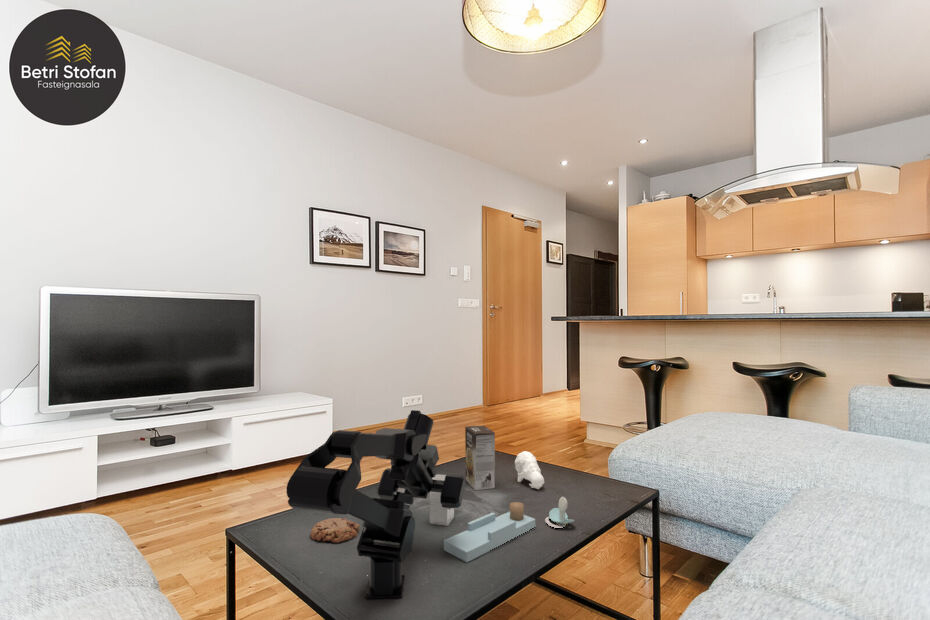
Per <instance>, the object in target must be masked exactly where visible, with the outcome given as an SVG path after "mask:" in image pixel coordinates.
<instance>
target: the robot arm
mask: <svg viewBox="0 0 930 620" xmlns="http://www.w3.org/2000/svg"><path fill="white" fill-rule="evenodd" d="M433 426H434V420H433V418H431V417H430V416H428V415H426V414H424V413H422V412H421V410H413V409H412V410H410V413H409V414H408V416H407V418H406V420H405V423H404V427H403V429H402V428H401V429H400V428H387V427H384V428H383V427H382V428H380V429H377V430H376V432H375V433H366V432H362V431H357V430H335V431H334V432H332V433H331V434H330V435H329V437H328V438H327V439H326V441H325V442H324V443H323V444H322V445H320V446H319V447H317V448H315V449H314V450H313V451H311V452H310V453H309V454H307V455H306V456H305V457H303V459H302V460H301V462H300V463H299V465H298V466H297V468H296V469H295V470H294V472H293V473H292V475H291V476H290V477H289V480H288V481H287V485H286V496H287V498H288V500H287V503H288V505H289V507H291V509H294V510H302V511H309V512H310V511H311V512H318V513H323V514H324V513H325V514H332V515H336V516H338V517H339V518H342V519H344V518H345V519H347V520H349V521H352V522H354V523H356V524H359V525H360V526H361V527H363V528H362V532H361V534H360V537H359V540H358V543H357V545H356V549H357V554H358V557H367V558H369V559H368V561H369V564H368V565H369V570H368V571H369V577H368V579H369V580H368V582H367V586H366V590H365V591H364V592H365V593H364V599H366V600H368V599H374V600H375V599H397V598H398V599H399V598H402V597H403V596H404V595H403V594H404V588H405V583H406V582H405V581H406V575H405V574H402V573H403V569H402V567H403V565H402V563H404V560H406V558H407V557H408V556H409V555H410V553H411V552H412V551H413V543H414V536H415V535H414V534H415V529H416V528H415V527H416V520H415V517H414V516H413V512H412V510H410V508H411V506H413V504H414V498H415V499H417V498H418V499H425V500H427V498H428V494H430V491H431V492H440V493H441V495H440V502H441V504H442V507H444V508H446V509H451V508H454V509H459V508H460V507H461V506H462V501H463V497H464V494H465V489H466V484H467V481H466V478H465V477H464V476H463V475H458V474H449V473H448V474H445V475H446V476H445V480H444V481H442V480H433V479H432V478H433V477H435V476H436V475H437V474H436V473H437V472H436V470H435V468H436V466H437V463H438V462H439V460H440V457H439V451H438V446H437V445H434V444H428V443H429V439H430V436H431V433H432V431H433V430H432V429H433ZM365 457H366V458H369V457H375V458H377V459H380V460H388V461H389V460H390V465H391V466H390V468H389V467H387V468H386V469H384V471H383V472H382V474H381V476H380V479H379V483H378V484H377V488H376V493H377V495H378V497H379V498H377V497H372V498H371V497H369V496H368V495H366V494H365V493H363V492H361V491H359V490H358V486H359V484H360V483H361V481H362V472H361V471H362V470H361V461H362V460H363V458H365ZM337 458H342V459H343V458H344V459H351V462H350V464H349V466H348V468H347V469H341V468H340V469H339V468H332V467H330V468H329V467H328V466H329V465H330V464H331V463H333V462H334V461H335V460H336V459H337ZM380 541H382V542H380ZM387 542H389V543H387Z"/></svg>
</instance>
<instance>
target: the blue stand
mask: <svg viewBox="0 0 930 620" xmlns="http://www.w3.org/2000/svg"><path fill="white" fill-rule="evenodd" d="M524 507H525V506H524V503H522V502H519V501H513V502H510V503H509V511H507V512H505V513H503V514H501V515H499V516H496V513H495V512H493V511H492V512H490V513H488V514H486V515H483V516H480V517H478V518H476V519H474V520H472V521H469V522H467V530H464V531H462V532H460V533H457V534H454V535H452V536H450V537H448V538H446V539H443V551H445V552H447V553H448V554H450V555H452V556H454V557H456V558H458V559H460V560H461V561H463V562H465V563H469V562H470V561H473V560H475V559H477V558H479V557H480V556H482V555H484V554H487V553H489V552H490V550H491V551H492V549H493V550H495V549H497V548H498V546H499V547H500V545H501V546H502V544H503V545H504V543H505V544H507V543H508V542H507V541H509V542H511V541H512V540H511V539H513V540H514V538H515V537H516V538H518V537H520V536H522V535H524V534H526V533H528V532H530V531H531V530H530V529H532V528H534V527H536V518H533V517H531V516H528V515H525V513H524V509H525V508H524ZM534 529H535V528H534ZM529 530H530V531H529ZM532 530H533V529H532ZM527 531H528V532H527ZM525 532H526V533H525ZM523 533H524V534H523ZM521 534H522V535H521ZM519 535H520V536H519ZM517 536H518V537H517ZM516 538H515V539H516ZM510 540H511V541H510ZM506 542H507V543H506ZM496 547H497V548H496ZM494 548H495V549H494Z"/></svg>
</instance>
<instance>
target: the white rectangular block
mask: <svg viewBox="0 0 930 620" xmlns="http://www.w3.org/2000/svg"><path fill="white" fill-rule="evenodd" d="M446 475H447V474H441V473H440V474H435V477H432V479H433V480H442V481H444V480H445V476H446ZM440 495H441V493H440V492H431V491H430V492H429V524H431V525H436V526H437V525H439V526H446V527H448V526H449V524H450V523H451V521H452V520H453V519H454V517H455V508H451V509H446V508H444V507H442V504H441V502H440Z"/></svg>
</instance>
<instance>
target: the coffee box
mask: <svg viewBox="0 0 930 620" xmlns="http://www.w3.org/2000/svg"><path fill="white" fill-rule="evenodd" d="M464 428H465V431H464V432H465V434H464V435H465V436H464V437H465V440H464V441H465V444H464V445H465V481H466V483H468V484H469V486H470V487H472V488H473V490H474V491H481V490H488V489H489V490H490V489H495V487H496V485H495V484H496V483H495V481H496V477H495V476H496V475H495V474H496V473H495V472H496V469H495V468H496V460H495V459H496V439H495V437H496V434H495V431H493V430H492V429H491V428H489V427H488V426H486V425H470V426H469V425H468V426H465V427H464Z"/></svg>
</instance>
